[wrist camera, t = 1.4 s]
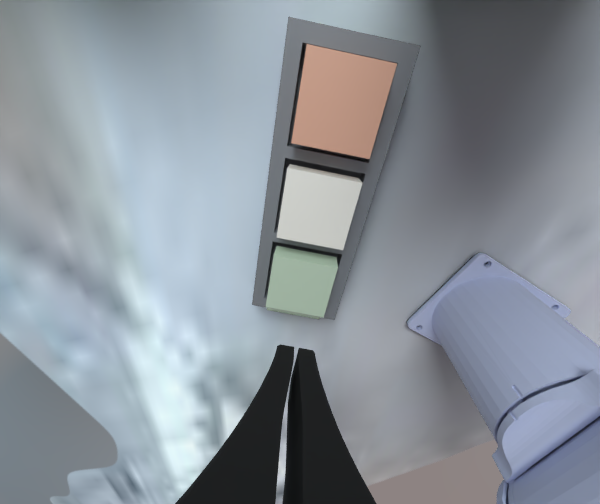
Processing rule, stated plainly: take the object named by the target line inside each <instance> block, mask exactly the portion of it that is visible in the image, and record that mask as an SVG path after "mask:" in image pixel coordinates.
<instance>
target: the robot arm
mask: <svg viewBox="0 0 600 504" xmlns="http://www.w3.org/2000/svg"><path fill="white" fill-rule="evenodd" d="M487 261H488V263H487V264H486V265H484V263H485V262H487ZM570 313H571V310H570V309H569V308H568V307H567V306H565V305H564V304H562V303H561V302H559V301H557V300H556V299H554V298H553V297H551V296H550V295H548V294H547V293H545V292H544V291H542V290H541V289H539V288H537V287H536V286H534V285H533V284H531V283H530V282H528V281H527V280H525V279H524V278H522V277H520V276H519V275H517V274H516V273H514V272H513V271H511V270H510V269H508V268H507V267H505V266H504V265H502V264H500V263H499V262H497V261H496V260H494V259H493V258H491V257H490V256H488V255H487V254H485V253H478V254H476V255H475V256H474V257H473V258H472V259H471V260H470V261H468V262H467V263H466V264H465V265H464V266H463V267H462V268H461V269H460V270H459V271H458V272H457V273H456V274H455V275H454V276H453V277H452V278H451V279H450V280H449V281H448V282H447V283H446V284H445V285H444V286H443V287H442V288H441V289H440V290H439V291H437V292H436V293H435V294H434V295H433V296H432V297H431V298H430V299H429V300H428V301H427V302H426V303H425V304H424V305H423V306H422V307H421V308H420V309H419V310H418V311H417V312H416V313H415V314H414V315H413V316H412V317H411V318H410V319H409V320H408V321H407V325H408V327H409V328H410V329H411V330H413V331H415V332H417V333H419V334H421V335H423V336H425V337H426V338H428V339H430V340H432V341H434V342H436V343H438V344H439V345H441V346H443V348H444V350H445V352H446V354H447V355H448V357H449V359H450V361H451V362H452V364H453V366H454V368H455V369H456V371H457V373H458V375H459V376H460V378H461V380H462V382H463V384H464V385H465V387H466V389H467V391H468V392H469V394H470V396H471V398H472V399H473V401H474V403H475V405H476V407H477V408H478V410H479V412H480V414H481V415H482V417H483V419H484V421H485V422H486V424H487V426H488V428H489V429H490V431H491V433H492V435H493V437H494V438H495V440H496V442H497V443H498V448H497V450H496V452H495V453H494V454H493V455H492V457H493V459H494V461H495V463H496V465H497V467H498V469H499V471H500V472H501V474H502V476H503V478H504V480H503V481H502V483H501V484H500V486H499V488H498V492H497V504H600V346H598V345H597V344H596V343H595V342H593V341H592V340H591V339H589V338H588V337H587V336H586V335H584V334H583V333H582V332H581V331H579V330H578V329H577V328H575V327H574V326H573V325H572V324H570V323H569V322H568V321H567V320H565V319H564V318H566V317H567V316H568V315H569V314H570ZM419 325H420V326H419ZM417 326H419V327H417ZM293 359H294V347H291V346H285V345H279V346H277V350H276V354H275V357H274V359H273V362H272V364H271V367H270V369H269V371H268V373H267V375H266V377H265V379H264V381H263V383H262V385H261V387H260V389H259V391H258V392H257V394H256V396H255V397H254V399H253V401H252V403H251V404H250V406H249V408H248V409H247V411H246V412H245V414H244V416H243V417H242V419H241V420H240V422H239V423H238V425H237V426H236V428H235V429H234V430H233V432H232V433H231V435H230V436H229V438H228V439H227V440H226V442H225V443H224V444H223V446H222V447H221V449H220V450H219V451H218V453H217V454H216V455H215V456H214V458H213V459H212V460H211V462H210V463H209V464H208V465H207V467H206V468H205V469H204V470H203V471H202V473H201V474H200V475H199V476H198V478H197V479H196V480H195V481H194V483H193V484H192V485H191V486H190V487H189V489H188V490H187V491H186V492H185V493H184V494H183V496H182V497H181V498H180V499H179V500H178V501H177V502H176V503H175V504H275V499H276V486H277V474H278V462H279V451H280V440H281V429H282V419H283V412H284V407H285V402H286V397H287V391H288V386H289V381H290V376H291V371H292V366H293ZM283 504H376V502H375V501H374V498H373V497H372V495H371V493H370V491H369V489H368V488H367V486H366V484H365V482H364V480H363V479H362V477H361V475H360V473H359V471H358V469H357V467H356V465H355V463H354V461H353V459H352V457H351V455H350V453H349V451H348V449H347V447H346V445H345V442H344V440H343V438H342V436H341V434H340V431H339V429H338V426H337V424H336V421H335V419H334V416H333V414H332V411H331V409H330V406H329V403H328V400H327V397H326V394H325V391H324V388H323V385H322V382H321V378H320V375H319V371H318V367H317V363H316V358H315V353H314V351H313V350H307V349H302V348H299V350H298V354H297V358H296V362H295V366H294V370H293V374H292V378H291V384H290V392H289V400H288V419H287V451H286V474H285V485H284V495H283Z"/></svg>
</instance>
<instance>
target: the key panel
mask: <svg viewBox="0 0 600 504" xmlns="http://www.w3.org/2000/svg"><path fill="white" fill-rule="evenodd" d="M307 44H309V45H314V46H318V47H323V48H328V49H332V50H337V51H342V52H346V53H351V54H355V55H360V56H365V57H369V58H374V59H378V60H383V61H388V62H392V63H397V66H396V70H395V73H394V77H393V80H392V83H391V87H390V90H389V94H388V97H387V101H386V104H385V108H384V111H383V114H382V118H381V121H380V125H379V128H378V132H377V135H376V139H375V142H374V146H373V149H372V152H371V156H370V159H366V158H362V157H357V156H352V155H347V154H342V153H337V152H332V151H327V150H322V149H317V148H313V147H308V146H303V145H298V144H293V143H291V141H292V135H293V129H294V122H295V116H296V109H297V103H298V97H299V90H300V84H301V78H302V71H303V65H304V58H305V52H306V46H307ZM420 47H421V46H419V45H415V44H410V43H406V42H401V41H396V40H392V39H387V38H383V37H378V36H374V35H369V34H365V33H360V32H356V31H351V30H346V29H342V28H337V27H333V26H328V25H324V24H319V23H315V22H310V21H305V20H301V19H296V18H292V17H288V25H287V33H286V41H285V49H284V57H283V65H282V72H281V80H280V88H279V96H278V104H277V112H276V120H275V128H274V136H273V144H272V151H271V159H270V167H269V175H268V183H267V191H266V199H265V207H264V215H263V223H262V231H261V238H260V246H259V254H258V262H257V270H256V278H255V286H254V294H253V302H252V305H256V306H261V307H266V301H267V295H268V288H269V282H270V276H271V269H272V263H273V256H274V253H275V250H276V247H277V246H281V247H286V248H291V249H297V250H302V251H307V252H312V253H318V254H323V255H328V256H333V257H337V264H338V270H337V273H336V277H335V280H334V283H333V287H332V290H331V294H330V297H329V301H328V304H327V308H326V311H325V314H324V318H327V319H332V320H334V319H335V316H336V313H337V310H338V307H339V303H340V300H341V297H342V294H343V291H344V288H345V284H346V281H347V278H348V275H349V272H350V269H351V265H352V262H353V259H354V256H355V253H356V250H357V246H358V243H359V240H360V237H361V234H362V231H363V227H364V224H365V221H366V218H367V215H368V212H369V208H370V205H371V202H372V199H373V196H374V193H375V189H376V186H377V183H378V180H379V177H380V174H381V170H382V167H383V164H384V161H385V158H386V155H387V151H388V148H389V145H390V142H391V139H392V136H393V132H394V129H395V126H396V123H397V120H398V117H399V113H400V110H401V107H402V104H403V101H404V98H405V94H406V91H407V88H408V85H409V82H410V79H411V75H412V72H413V69H414V66H415V63H416V60H417V56H418V53H419V50H420ZM290 164H292V165H297V166H302V167H307V168H312V169H317V170H322V171H327V172H332V173H337V174H342V175H347V176H352V177H357V178H359V179H360V180H361V182H362V187H361V190H360V194H359V197H358V201H357V204H356V208H355V211H354V214H353V218H352V221H351V225H350V228H349V232H348V235H347V239H346V242H345V245H344V249H343V250H339V249H334V248H328V247H323V246H318V245H313V244H308V243H302V242H297V241H292V240H287V239H281V238H276V237H277V231H278V224H279V218H280V212H281V205H282V199H283V193H284V186H285V180H286V173H287V168H288V166H289V165H290ZM267 310H270V311H276V312H281V313H287V314H292V315H298V316H303V317H309V318H314V319H319V318H320V317H317V316H312V315H306V314H301V313H295V312H290V311H285V310H279V309H274V308H268V307H267ZM321 318H323V317H321Z"/></svg>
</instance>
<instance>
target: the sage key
mask: <svg viewBox="0 0 600 504" xmlns="http://www.w3.org/2000/svg"><path fill="white" fill-rule="evenodd" d="M337 270H338V264H337V257H333V256H328V255H323V254H318V253H312V252H307V251H302V250H297V249H291V248H286V247H281V246H277V247H276V250H275V253H274V256H273V263H272V269H271V276H270V282H269V288H268V295H267V301H266V307H268V308H274V309H279V310H285V311H290V312H295V313H301V314H306V315H312V316H317V317H323V318H324V314H325V311H326V308H327V304H328V301H329V297H330V294H331V290H332V287H333V283H334V280H335V277H336V273H337Z"/></svg>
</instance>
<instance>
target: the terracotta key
mask: <svg viewBox="0 0 600 504" xmlns="http://www.w3.org/2000/svg"><path fill="white" fill-rule="evenodd" d="M396 66H397V63H392V62H388V61H383V60H378V59H374V58H369V57H365V56H360V55H355V54H351V53H346V52H342V51H337V50H332V49H328V48H323V47H318V46H314V45H309V44H307V46H306V52H305V58H304V65H303V71H302V78H301V84H300V90H299V97H298V103H297V109H296V116H295V122H294V129H293V135H292V141H291V143H293V144H298V145H303V146H308V147H313V148H317V149H322V150H327V151H332V152H337V153H342V154H347V155H352V156H357V157H362V158H366V159H370V156H371V152H372V149H373V146H374V142H375V139H376V135H377V132H378V128H379V125H380V121H381V118H382V114H383V111H384V108H385V104H386V101H387V97H388V94H389V90H390V87H391V83H392V80H393V77H394V73H395V70H396Z"/></svg>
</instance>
